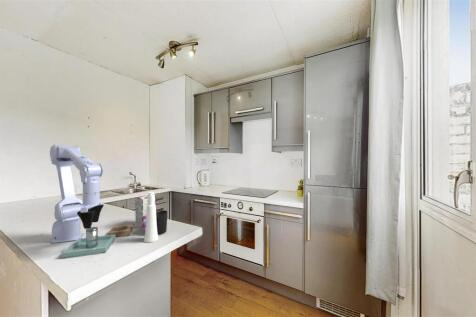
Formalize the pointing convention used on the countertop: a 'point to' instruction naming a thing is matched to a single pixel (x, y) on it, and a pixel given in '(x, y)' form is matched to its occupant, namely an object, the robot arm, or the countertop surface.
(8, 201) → the countertop surface
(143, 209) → the candy bar box
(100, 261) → the countertop surface
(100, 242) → the tray
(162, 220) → the pen holder
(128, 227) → the socket block
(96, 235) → the steel pin
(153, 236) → the cosmetic bottle
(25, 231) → the countertop surface
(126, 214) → the countertop surface
